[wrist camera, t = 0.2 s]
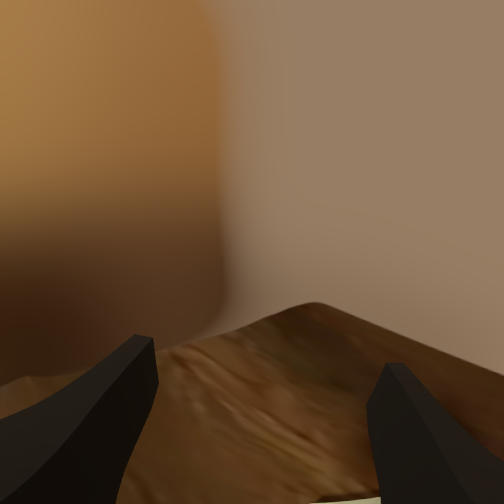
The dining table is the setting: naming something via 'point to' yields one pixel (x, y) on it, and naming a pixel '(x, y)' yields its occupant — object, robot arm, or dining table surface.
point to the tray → (358, 501)
